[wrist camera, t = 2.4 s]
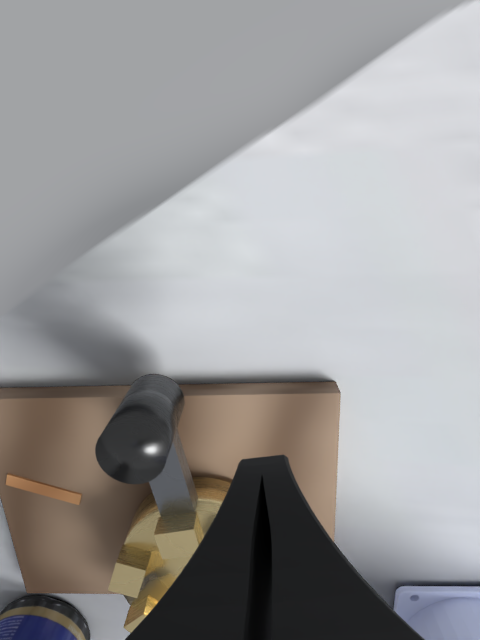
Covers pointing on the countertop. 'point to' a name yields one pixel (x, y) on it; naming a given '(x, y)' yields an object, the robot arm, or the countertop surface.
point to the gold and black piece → (155, 493)
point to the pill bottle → (42, 620)
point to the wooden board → (124, 499)
